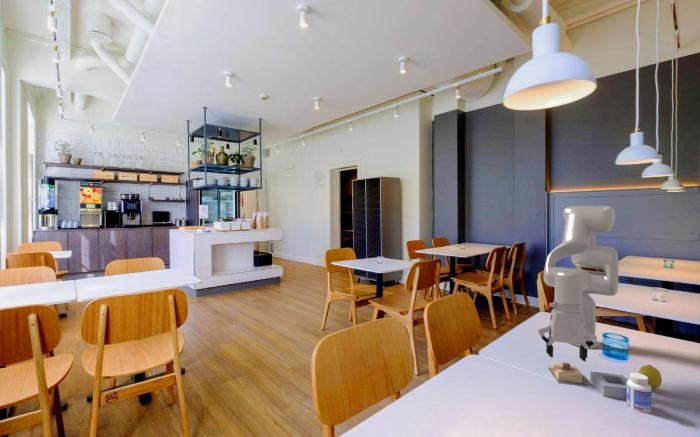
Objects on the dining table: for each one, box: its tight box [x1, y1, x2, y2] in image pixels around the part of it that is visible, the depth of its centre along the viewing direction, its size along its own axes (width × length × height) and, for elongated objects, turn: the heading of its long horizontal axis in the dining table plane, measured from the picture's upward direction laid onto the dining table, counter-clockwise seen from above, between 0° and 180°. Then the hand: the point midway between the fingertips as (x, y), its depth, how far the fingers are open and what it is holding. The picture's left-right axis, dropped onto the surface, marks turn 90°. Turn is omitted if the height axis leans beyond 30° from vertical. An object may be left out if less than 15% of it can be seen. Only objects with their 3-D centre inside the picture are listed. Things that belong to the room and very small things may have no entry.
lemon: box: [638, 364, 663, 390], centre depth 104 cm, size 6×6×8 cm
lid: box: [550, 361, 583, 383], centre depth 111 cm, size 7×7×4 cm
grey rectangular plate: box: [547, 367, 587, 388], centre depth 111 cm, size 11×8×1 cm
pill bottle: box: [625, 372, 653, 414], centre depth 94 cm, size 5×5×10 cm
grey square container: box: [589, 371, 629, 400], centre depth 103 cm, size 9×9×4 cm
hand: (566, 357), depth 111 cm, fingers open, 9 cm apart
